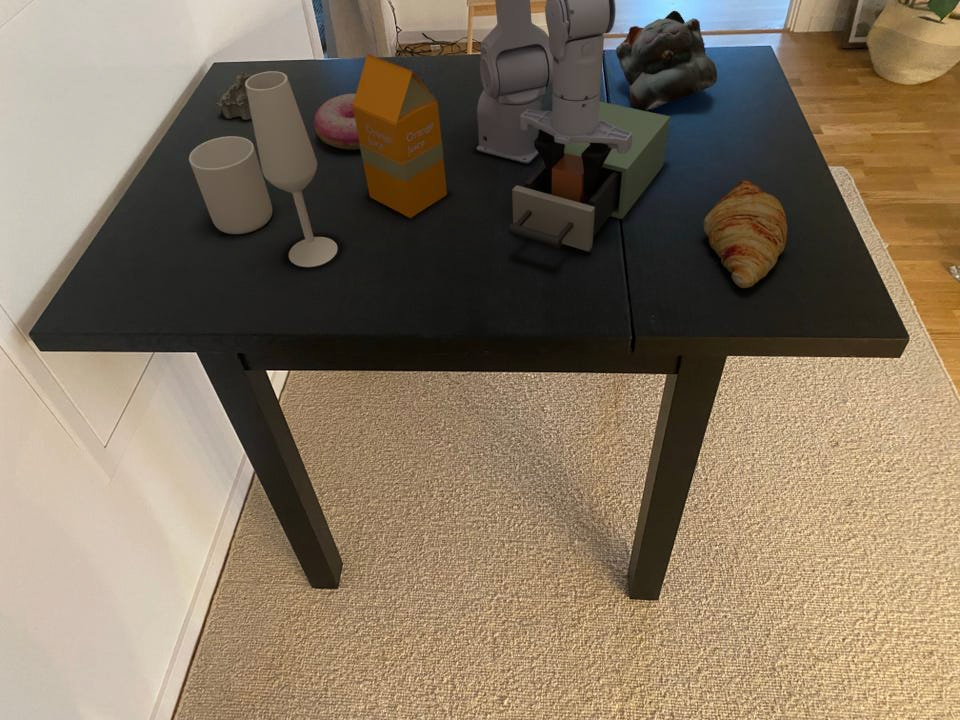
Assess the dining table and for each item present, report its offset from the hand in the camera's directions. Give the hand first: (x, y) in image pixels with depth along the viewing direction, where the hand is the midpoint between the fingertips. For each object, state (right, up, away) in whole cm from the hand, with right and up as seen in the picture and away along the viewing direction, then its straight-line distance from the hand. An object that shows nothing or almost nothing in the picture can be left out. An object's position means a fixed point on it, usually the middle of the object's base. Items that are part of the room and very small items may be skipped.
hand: (572, 187), depth 97 cm
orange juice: (-23, +1, +10) cm, 25 cm away
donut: (-33, +14, +24) cm, 43 cm away
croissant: (+22, -8, -2) cm, 23 cm away
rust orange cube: (0, -1, +1) cm, 1 cm away
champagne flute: (-35, -8, +2) cm, 36 cm away
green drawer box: (+6, +3, +10) cm, 12 cm away
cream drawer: (-1, -4, +2) cm, 5 cm away
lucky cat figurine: (+19, +22, +27) cm, 39 cm away
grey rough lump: (-53, +22, +33) cm, 66 cm away
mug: (-46, -1, +10) cm, 47 cm away
